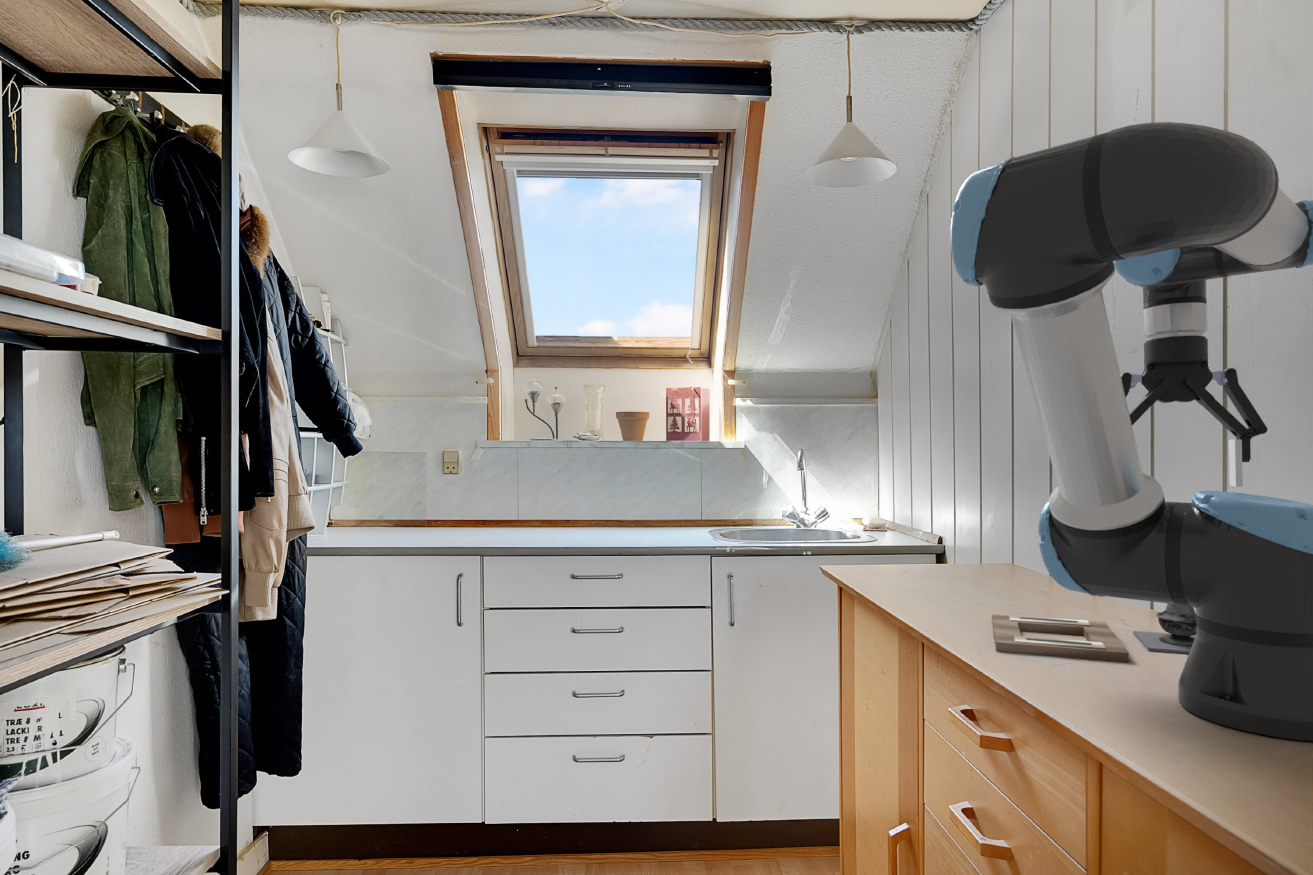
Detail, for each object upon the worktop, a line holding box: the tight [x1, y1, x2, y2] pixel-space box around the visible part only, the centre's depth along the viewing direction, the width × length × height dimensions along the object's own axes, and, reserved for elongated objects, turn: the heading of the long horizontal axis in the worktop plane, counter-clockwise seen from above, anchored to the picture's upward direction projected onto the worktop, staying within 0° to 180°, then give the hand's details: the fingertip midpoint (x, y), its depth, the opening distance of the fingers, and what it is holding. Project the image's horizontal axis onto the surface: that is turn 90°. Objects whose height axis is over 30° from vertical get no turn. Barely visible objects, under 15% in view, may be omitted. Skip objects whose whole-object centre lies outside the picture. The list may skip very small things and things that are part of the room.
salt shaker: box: [1155, 603, 1197, 647], centre depth 106 cm, size 6×6×12 cm
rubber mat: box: [1132, 630, 1196, 655], centre depth 106 cm, size 10×10×1 cm
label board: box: [991, 614, 1130, 663], centre depth 110 cm, size 18×16×2 cm
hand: (1177, 486), depth 107 cm, fingers open, 13 cm apart
